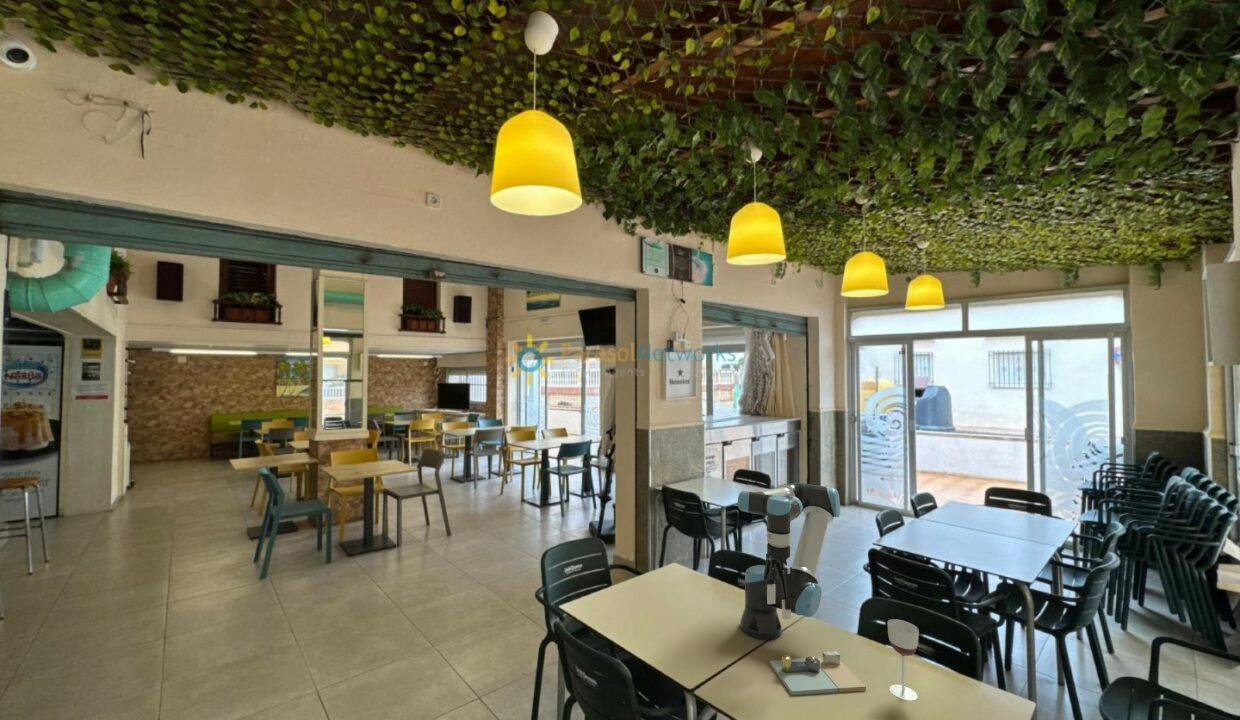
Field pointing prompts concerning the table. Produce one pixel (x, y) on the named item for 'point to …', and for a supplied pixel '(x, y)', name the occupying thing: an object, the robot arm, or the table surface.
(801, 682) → the door board
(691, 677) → the table surface
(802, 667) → the swing bar
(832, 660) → the block
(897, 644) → the wineglass
